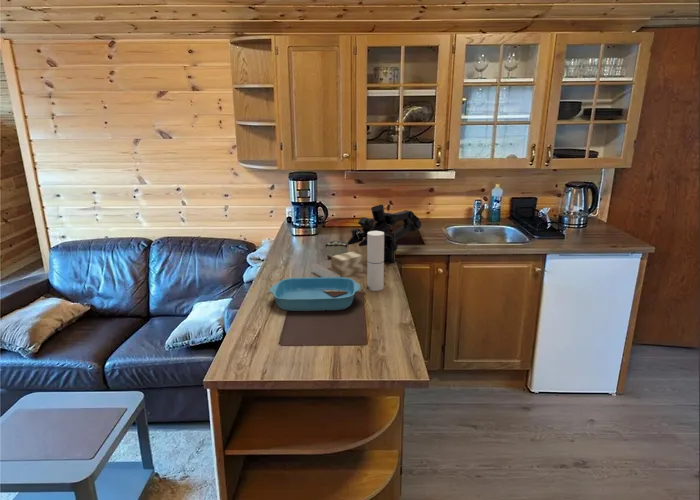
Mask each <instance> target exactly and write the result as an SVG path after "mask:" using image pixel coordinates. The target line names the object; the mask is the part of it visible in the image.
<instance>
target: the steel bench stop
mask: <svg viewBox="0 0 700 500" xmlns="http://www.w3.org/2000/svg"><path fill="white" fill-rule="evenodd" d="M326 268H327V267H324V266H323V265H321V264H319V263H317V262H315V263H311V272H312V273H311V274H313V273H314V274H316V275H318V276H320V277H340V275H338V274H336V273H334V272H332V271H330V270H328V269H326ZM314 274H313V275H314ZM316 275H315V276H316ZM318 276H317V277H318Z"/></svg>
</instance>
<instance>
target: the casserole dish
mask: <svg viewBox="0 0 700 500" xmlns="http://www.w3.org/2000/svg"><path fill="white" fill-rule="evenodd" d="M360 290H361V284H359V283H358V282H356V281H355V280H353V279H351V278H345V277H318V276H316V277H313V276H312V277H288V278H284V279H281V280H279V281H278V282H277V283H275V284H272V285H271V286H270V288H269V293H270V294H272V295H273V298H274V300H275V302H276V304H277V306H278V308H281V309H282V310H284V311H291V312H292V311H293V312H296V311H297V312H311V311H312V312H314V311H315V312H317V311H322V312H323V311H325V310H327V311H340V310H345V309H347V308H349V307H350V306H351V305H352V304H353V300H354V298H355V293H358V292H359V291H360ZM326 291H342V292H346V293H342V294H339V295H336V296H333V295H331V294H330V293H328V292H326Z"/></svg>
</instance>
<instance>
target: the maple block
mask: <svg viewBox="0 0 700 500" xmlns="http://www.w3.org/2000/svg"><path fill="white" fill-rule="evenodd" d="M363 257H364V255H362V254H359V253H357V252H355V251H349V252H348V251H347V253H344V254H339V255H335V256H332V260H331V267H332V272H334V273H336V274H338V275H340V277H345V276H349V275H352V274H356V273H360V272H363V262H364V261H363V260H364V259H363Z"/></svg>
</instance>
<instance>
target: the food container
mask: <svg viewBox="0 0 700 500" xmlns="http://www.w3.org/2000/svg"><path fill="white" fill-rule="evenodd" d="M347 243H348V241H344V240H338V239H337V240H329V241H326V242H325V243H324V248H325V252H326V259H327V261H330V260H331V261H332V256H335V255H339V254H344V253H348V249H349V248H350V247H349V246H350V245H348V244H347Z"/></svg>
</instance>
